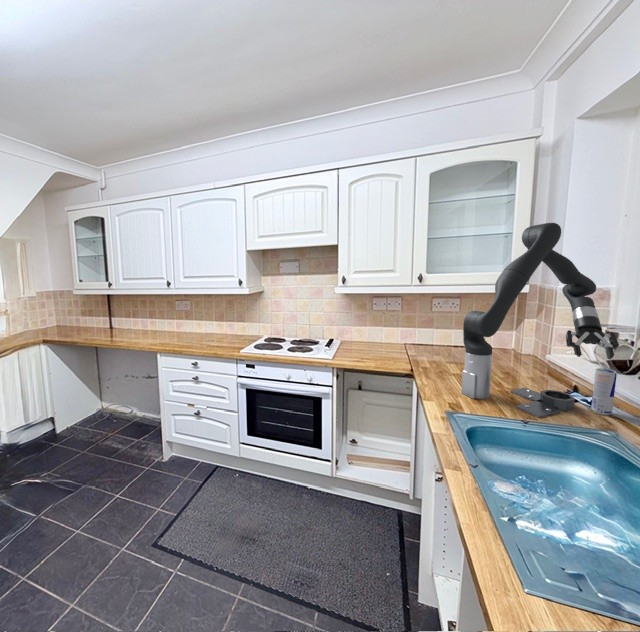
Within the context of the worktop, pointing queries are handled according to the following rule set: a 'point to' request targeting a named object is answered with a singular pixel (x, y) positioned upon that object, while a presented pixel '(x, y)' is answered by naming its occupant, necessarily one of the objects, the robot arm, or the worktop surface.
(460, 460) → the worktop surface
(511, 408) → the worktop surface
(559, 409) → the grey can holder
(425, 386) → the worktop surface
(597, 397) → the beverage can
